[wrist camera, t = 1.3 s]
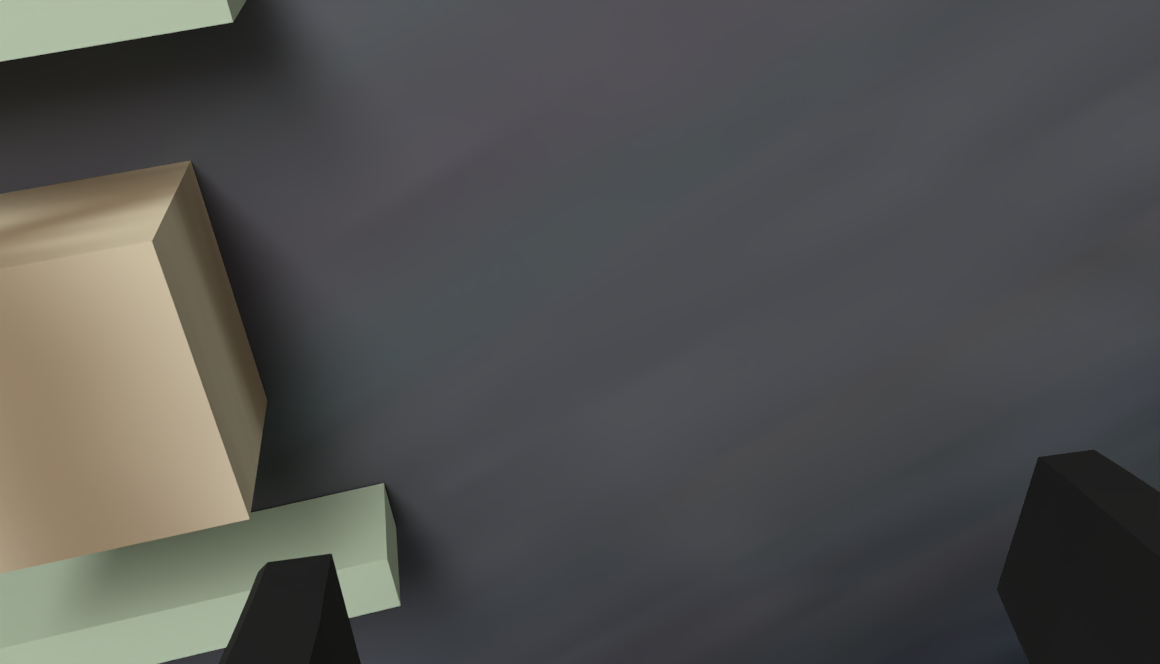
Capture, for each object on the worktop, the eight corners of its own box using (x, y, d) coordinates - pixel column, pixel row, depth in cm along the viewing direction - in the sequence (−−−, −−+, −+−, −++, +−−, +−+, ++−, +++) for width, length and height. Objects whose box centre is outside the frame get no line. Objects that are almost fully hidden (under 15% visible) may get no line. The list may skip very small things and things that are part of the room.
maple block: (191, 158, 18) (151, 241, 14) (267, 397, 20) (249, 518, 17) (-108, 210, 17) (-227, 311, 14) (7, 451, 19) (-69, 588, 16)
